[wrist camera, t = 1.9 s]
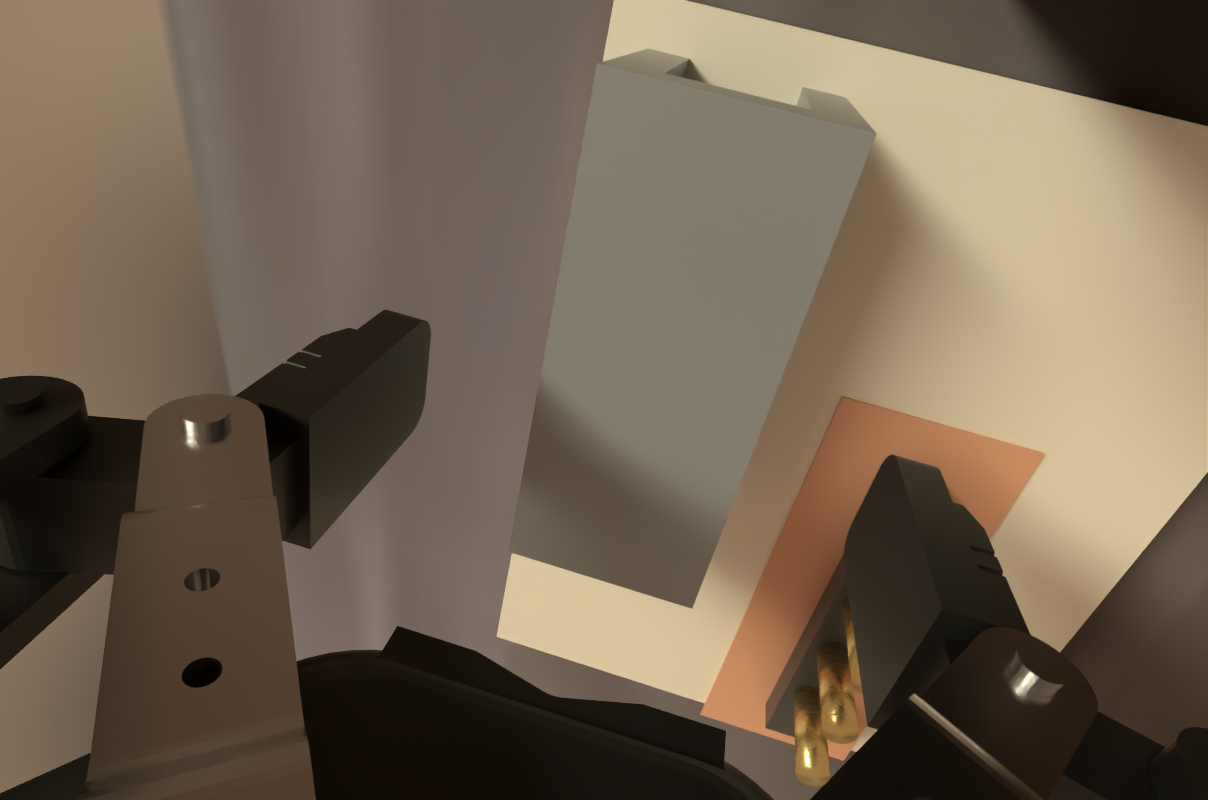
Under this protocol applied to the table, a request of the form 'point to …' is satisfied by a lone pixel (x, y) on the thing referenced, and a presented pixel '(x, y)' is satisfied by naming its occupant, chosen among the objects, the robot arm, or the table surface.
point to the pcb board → (935, 357)
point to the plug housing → (676, 315)
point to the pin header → (808, 653)
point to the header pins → (827, 707)
